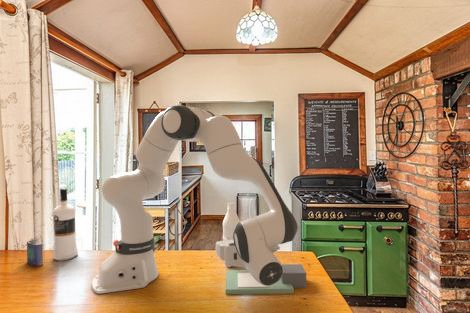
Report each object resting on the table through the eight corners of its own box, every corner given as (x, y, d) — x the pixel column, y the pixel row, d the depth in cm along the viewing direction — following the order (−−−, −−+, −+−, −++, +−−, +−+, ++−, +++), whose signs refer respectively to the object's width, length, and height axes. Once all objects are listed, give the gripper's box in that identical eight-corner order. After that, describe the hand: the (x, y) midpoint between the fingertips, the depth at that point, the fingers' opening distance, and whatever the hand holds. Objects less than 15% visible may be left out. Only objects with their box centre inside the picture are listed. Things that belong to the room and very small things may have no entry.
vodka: (82, 255, 127) (79, 187, 126) (60, 262, 119) (57, 190, 118) (70, 251, 132) (68, 186, 131) (48, 258, 124) (46, 189, 123)
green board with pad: (225, 294, 93) (225, 278, 93) (226, 274, 107) (226, 261, 107) (309, 293, 93) (309, 277, 93) (299, 273, 107) (299, 260, 107)
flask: (44, 264, 118) (43, 238, 117) (36, 267, 115) (35, 241, 115) (32, 260, 122) (31, 235, 122) (24, 263, 120) (23, 237, 119)
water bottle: (239, 269, 112) (238, 205, 111) (221, 267, 113) (220, 204, 112) (242, 261, 119) (241, 201, 118) (225, 260, 120) (224, 200, 119)
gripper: (282, 239, 94) (266, 228, 108) (221, 246, 89) (212, 233, 102) (282, 258, 95) (266, 244, 108) (221, 266, 89) (212, 250, 102)
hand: (239, 239), depth 105 cm, fingers open, 8 cm apart
